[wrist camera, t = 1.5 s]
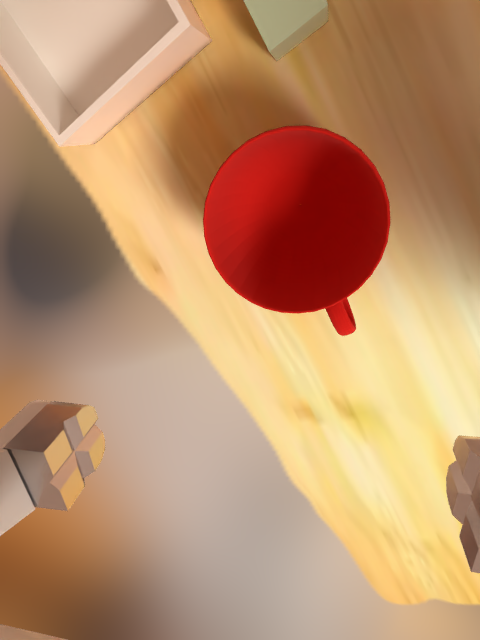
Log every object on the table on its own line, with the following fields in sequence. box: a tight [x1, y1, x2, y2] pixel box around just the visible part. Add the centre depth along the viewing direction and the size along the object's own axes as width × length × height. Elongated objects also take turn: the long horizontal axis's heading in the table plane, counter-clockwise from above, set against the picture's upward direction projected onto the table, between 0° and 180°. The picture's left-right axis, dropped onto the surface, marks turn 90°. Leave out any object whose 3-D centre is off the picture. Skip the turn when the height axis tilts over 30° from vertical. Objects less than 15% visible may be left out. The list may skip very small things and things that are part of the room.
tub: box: [0, 0, 212, 147], centre depth 29 cm, size 14×14×6 cm
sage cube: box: [243, 0, 328, 61], centre depth 27 cm, size 4×4×4 cm
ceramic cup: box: [203, 126, 390, 336], centre depth 31 cm, size 13×17×10 cm
